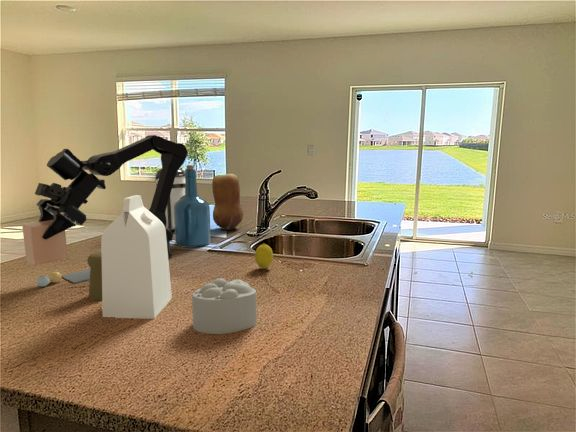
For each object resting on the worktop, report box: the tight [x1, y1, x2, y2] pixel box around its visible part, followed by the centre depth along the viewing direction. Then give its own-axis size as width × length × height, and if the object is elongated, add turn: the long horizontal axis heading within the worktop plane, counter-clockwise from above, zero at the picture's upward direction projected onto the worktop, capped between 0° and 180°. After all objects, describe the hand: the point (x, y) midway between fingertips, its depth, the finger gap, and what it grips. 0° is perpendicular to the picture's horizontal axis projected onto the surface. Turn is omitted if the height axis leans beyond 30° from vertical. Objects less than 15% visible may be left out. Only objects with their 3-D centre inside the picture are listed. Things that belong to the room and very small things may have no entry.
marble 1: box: [35, 274, 51, 288], centre depth 107 cm, size 3×3×3 cm
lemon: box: [254, 243, 274, 270], centre depth 122 cm, size 6×6×8 cm
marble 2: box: [48, 271, 62, 284], centre depth 110 cm, size 3×3×3 cm
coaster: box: [61, 268, 91, 284], centre depth 116 cm, size 11×9×1 cm
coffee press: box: [154, 168, 185, 234], centre depth 177 cm, size 17×16×30 cm
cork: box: [86, 251, 102, 301], centre depth 100 cm, size 6×6×11 cm
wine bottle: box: [174, 164, 211, 248], centre depth 151 cm, size 14×13×30 cm
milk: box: [100, 194, 173, 320], centre depth 91 cm, size 12×12×26 cm
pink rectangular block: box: [21, 220, 69, 266], centre depth 107 cm, size 8×6×10 cm
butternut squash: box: [212, 173, 245, 231], centre depth 178 cm, size 14×13×25 cm
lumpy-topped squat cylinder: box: [191, 277, 258, 335], centre depth 85 cm, size 10×13×9 cm
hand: (39, 236), depth 105 cm, fingers closed on pink rectangular block, 6 cm apart
